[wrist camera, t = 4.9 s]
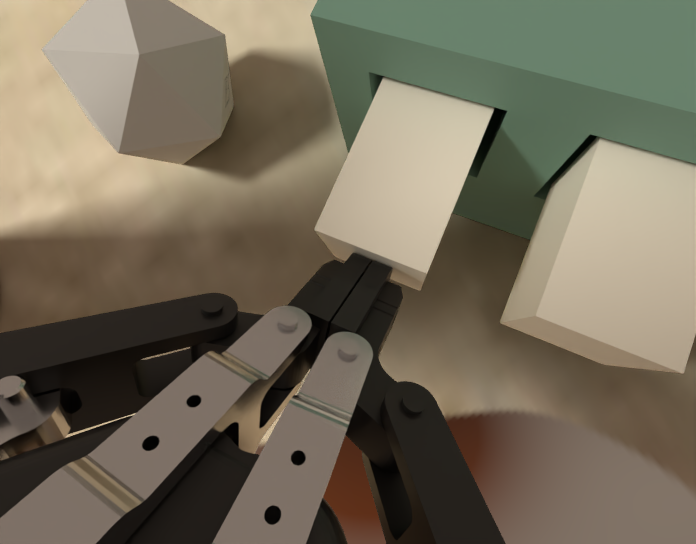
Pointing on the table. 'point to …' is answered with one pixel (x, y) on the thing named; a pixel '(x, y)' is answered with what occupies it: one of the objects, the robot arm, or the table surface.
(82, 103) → the die
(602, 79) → the console
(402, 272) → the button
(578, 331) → the button mid
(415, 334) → the table surface
